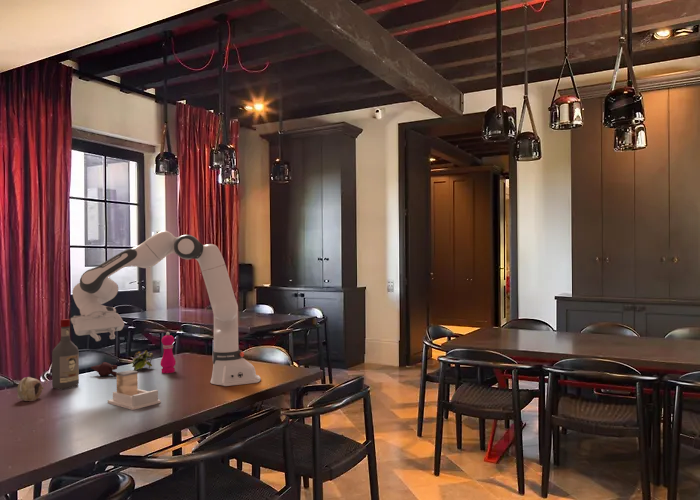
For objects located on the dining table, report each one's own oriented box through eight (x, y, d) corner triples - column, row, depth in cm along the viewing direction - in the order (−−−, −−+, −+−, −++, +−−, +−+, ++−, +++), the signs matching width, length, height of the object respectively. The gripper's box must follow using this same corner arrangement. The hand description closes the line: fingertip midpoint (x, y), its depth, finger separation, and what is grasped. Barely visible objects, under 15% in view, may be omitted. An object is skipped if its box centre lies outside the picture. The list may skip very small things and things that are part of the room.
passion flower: (138, 379, 280) (143, 357, 288) (156, 376, 278) (161, 354, 285) (124, 370, 272) (129, 348, 279) (143, 367, 269) (148, 345, 276)
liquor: (49, 387, 241) (49, 320, 241) (68, 383, 249) (68, 318, 249) (62, 390, 237) (62, 321, 237) (81, 385, 245) (81, 318, 245)
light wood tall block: (116, 398, 216) (116, 372, 216) (130, 395, 221) (130, 370, 221) (123, 400, 213) (123, 374, 213) (138, 397, 218) (137, 371, 218)
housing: (107, 402, 214) (107, 390, 214) (135, 396, 224) (135, 384, 224) (132, 409, 204) (132, 396, 204) (160, 402, 214) (160, 389, 214)
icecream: (84, 364, 261) (112, 367, 258) (95, 357, 268) (121, 361, 265) (86, 377, 263) (113, 381, 260) (96, 370, 270) (123, 374, 267)
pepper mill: (171, 373, 267) (170, 333, 267) (157, 373, 268) (157, 332, 268) (178, 370, 274) (178, 331, 274) (165, 370, 275) (165, 330, 275)
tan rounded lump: (21, 408, 217) (12, 387, 214) (20, 400, 224) (11, 379, 221) (46, 398, 221) (38, 376, 218) (45, 390, 228) (37, 369, 225)
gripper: (71, 311, 223) (84, 337, 217) (118, 307, 239) (131, 331, 233) (66, 321, 225) (78, 347, 219) (113, 317, 242) (125, 340, 236)
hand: (106, 339), depth 226 cm, fingers open, 5 cm apart
